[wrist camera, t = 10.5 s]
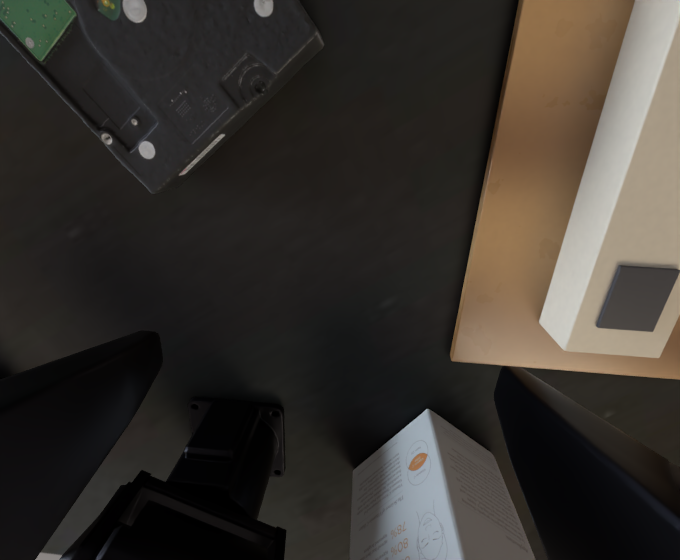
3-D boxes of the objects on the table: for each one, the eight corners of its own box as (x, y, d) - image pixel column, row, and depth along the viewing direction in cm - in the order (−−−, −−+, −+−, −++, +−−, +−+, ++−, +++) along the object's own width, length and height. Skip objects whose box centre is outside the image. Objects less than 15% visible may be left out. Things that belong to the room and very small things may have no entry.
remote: (620, 328, 19) (663, 361, 16) (537, 322, 19) (565, 354, 17) (773, -48, 13) (884, -98, 10) (648, -50, 13) (723, -99, 10)
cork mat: (673, 373, 21) (681, 380, 20) (449, 355, 21) (451, 361, 21) (935, -149, 12) (962, -162, 12) (547, -150, 13) (555, -162, 12)
